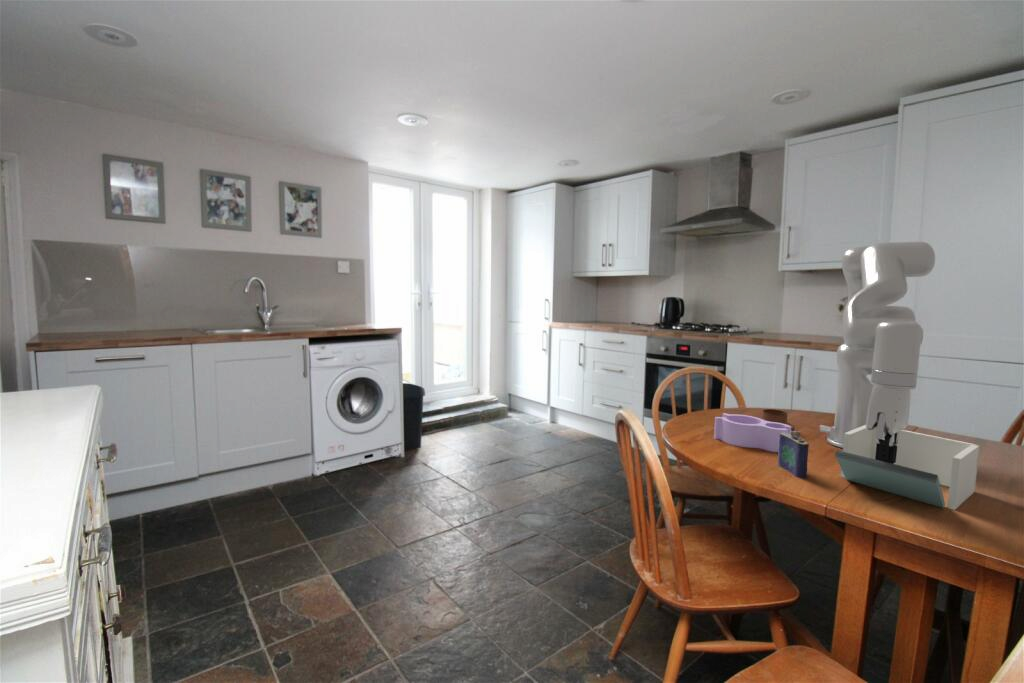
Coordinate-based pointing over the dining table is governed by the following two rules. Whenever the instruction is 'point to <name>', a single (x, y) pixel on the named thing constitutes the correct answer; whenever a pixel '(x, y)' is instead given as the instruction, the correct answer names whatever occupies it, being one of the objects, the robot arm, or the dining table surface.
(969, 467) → the teal front storage box
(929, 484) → the panel
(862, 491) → the dining table surface
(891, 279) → the robot arm
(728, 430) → the purple cup holder
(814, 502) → the dining table surface
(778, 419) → the cup and saucer
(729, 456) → the dining table surface
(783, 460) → the flask
